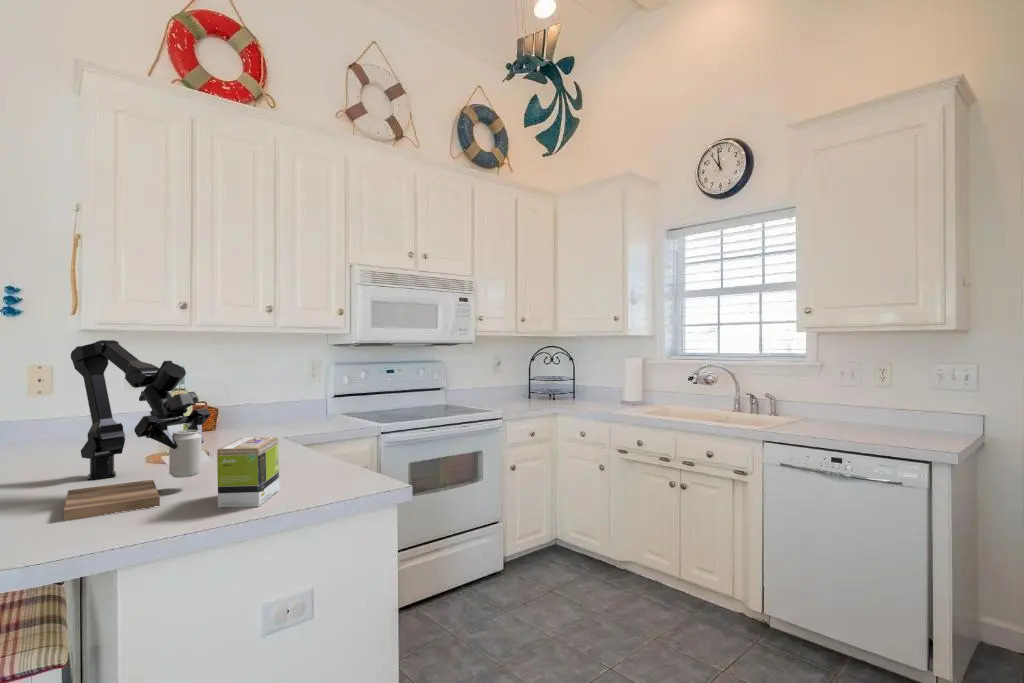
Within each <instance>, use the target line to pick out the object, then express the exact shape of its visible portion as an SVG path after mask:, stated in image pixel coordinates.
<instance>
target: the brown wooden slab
mask: <svg viewBox="0 0 1024 683" xmlns="http://www.w3.org/2000/svg"><path fill="white" fill-rule="evenodd" d="M160 499H161V496H160V494H159V492H158V488H157V486H156V483H155V480H154V479H147V480H141V481H137V480H136V481H130V482H122V483H115V484H105V485H99V486H91V487H84V488H83V487H82V488H75V489H74V488H73V489H68V490H67V495H66V499H65V504H64V508H63V509H64V510H63V521H64V522H66V521H67V520H68V521H73V520H74V519H75V520H80V519H88V518H93V517H92V516H95V517H99V516H98V515H101V516H105V515H104V514H108V515H111V514H110V513H114V514H116V513H115V512H121V513H123V512H122V511H128V512H130V511H129V510H134V511H137V510H136V509H141V510H143V509H142V508H147V509H150V508H149V507H154V506H160V505H161V504H160V503H161V502H160V501H161V500H160ZM160 507H161V506H160ZM154 508H155V507H154ZM87 517H88V518H87ZM68 521H67V522H68Z"/></svg>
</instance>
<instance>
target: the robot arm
mask: <svg viewBox="0 0 1024 683" xmlns="http://www.w3.org/2000/svg"><path fill="white" fill-rule="evenodd" d="M70 359H71V361H72V364H73V368H74V369H75V370H76V372H77V373H79V374H80V375H81V376H82V377H83V381H84V382H83V383H84V386H85V391H86V397H87V403H88V407H89V408H88V409H89V412H90V418H91V426H90V428H89V429H88V432H87V441H86V442H85V443H84V446H83V447H82V448H81V449H80V456H81V458H82V459H89V474H88V475H87V480H98V479H99V478H100V479H107V478H106V477H108V478H114V477H113V476H116V477H117V472H116V470H115V455H121V454H122V453H123V451H124V446H125V442H126V435H125V432H124V426H123V424H122V423H121V422H120V423H119V422H116V421H115V420H114V417H113V413H112V409H111V408H112V406H111V404H110V398H109V397H110V396H109V393H108V388H107V383H106V379H105V378H106V377H105V371H106V370H107V368H108V365H109V361H110V363H112V364H113V365H114V366H116V367H117V368H118V369H120V371H122V372H123V373H124V374H125V375H124V379H125V381H127V382H128V384H129V385H130V387H132V388H138V389H139V388H144V390H141V392H140V395H139V397H138V402H146V403H147V404H148V406H149V408H150V409H151V411H150V412H149V414H150V415H143V416H142V418H141V419H140V420H139V421H138V423H137V424H136V425H135V426H134V433H135V435H136V436H137V438H142V437H146V439H152V440H154V441H156V442H158V443H161V444H163V445H165V446H167V447H169V448H170V447H171V448H173V449H176V448H177V445H176V442H175V441H174V439H173V437H172V434H171V433H170V431H169V428H168V427H172V426H173V427H174V426H181V425H185V426H186V428H187V429H186V430H198V431H199V432H198V433H199V434H200V435H201V436H202V444H203V443H204V442H205V441H204V434H203V425H204V424H205V423H206V422H207V420H208V419H209V418H210V416H212V414H211V412H210V411H209V410H208V408H199V409H198V408H197V409H192V411H191V413H190V414H189V415H184V414H186V413H187V412H188V411H189V410H188V408H189V407H191V406H194V405H195V404H196V403H198V402H199V396H198V395H197V394H196V392H195V391H188V393H180V394H176V395H174V396H172V394H171V393H170V392H172V391H174V390H176V388H177V387H178V385H179V384H180V383H181V382H182V380H183V379H184V378H185V377H186V375H187V373H186V370H185V368H184V367H182V366H181V365H179V364H177V363H174V362H173V361H172V360H164V361H163V362H162V363H161V365H160V367H158V366H156V365H154V364H152V363H148V362H144V361H141V360H139V359H138V358H137V357H136V356H134V355H133V354H132V353H131V352H130V351H128V350H127V349H126V348H124V347H123V346H121V344H120V343H119V341H117V340H115V339H111V340H110V339H108V340H106V339H105V340H104V339H100V340H97V341H95V342H91V343H89V344H85V345H77V346H76V347H75V348H74V349H73V350H71V352H70ZM100 479H99V480H100Z"/></svg>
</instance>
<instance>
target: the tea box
mask: <svg viewBox="0 0 1024 683" xmlns="http://www.w3.org/2000/svg"><path fill="white" fill-rule="evenodd" d="M216 451H217V453H216V458H217V459H216V463H217V464H216V465H217V471H216V472H217V507H218V508H219V507H232V508H257V507H260V505H262V504H263V503H265V502H266V501H267V500H268V499H270V498H271V497H272V496H273V495H274V494H276V492H278V491H280V460H279V458H280V455H279V454H280V453H279V451H280V450H279V436H257V437H256V436H255V437H254V436H253V437H241V438H238V439H236V440H234V441H232V442H230V443H227V444H225V445H224V446H222V447H219V448H217V450H216Z"/></svg>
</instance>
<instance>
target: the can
mask: <svg viewBox="0 0 1024 683" xmlns="http://www.w3.org/2000/svg"><path fill="white" fill-rule="evenodd" d="M198 432H199V431H198V430H187V429H181V430H175V431H172V434H171V436H172V437H173V439H174V441H175V442H176V445H177V448H176V449H173V448H171V447H169V458H168V460H169V461H168V462H169V464H168V465H169V469H168V470H169V472H168V474H169V475H170V476H172V477H173V478H175V479H176V478H178V479H179V478H183V479H184V478H189V477H190V478H191V477H194V476H197V475H198V474H200V473H201V471H202V447H203V446H202V445H203V443H202V436H201V435H200V434H199V433H198Z"/></svg>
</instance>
